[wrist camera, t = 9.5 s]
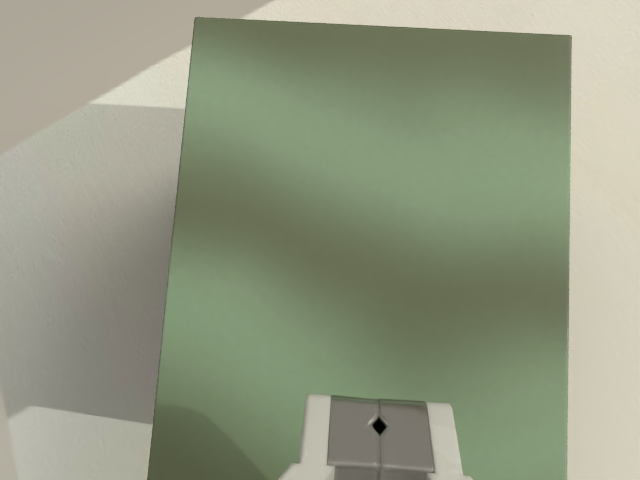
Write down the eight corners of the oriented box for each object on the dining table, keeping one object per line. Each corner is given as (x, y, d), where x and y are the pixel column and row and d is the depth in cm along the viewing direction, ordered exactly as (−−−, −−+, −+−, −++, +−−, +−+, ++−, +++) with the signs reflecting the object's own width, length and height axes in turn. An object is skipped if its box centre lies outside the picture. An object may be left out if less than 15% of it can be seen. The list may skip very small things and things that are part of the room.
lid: (199, 27, 21) (194, 15, 20) (563, 45, 20) (572, 34, 20) (153, 485, 19) (145, 492, 18) (557, 518, 18) (567, 527, 18)
